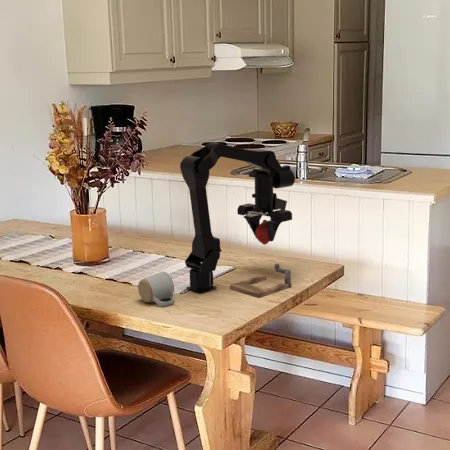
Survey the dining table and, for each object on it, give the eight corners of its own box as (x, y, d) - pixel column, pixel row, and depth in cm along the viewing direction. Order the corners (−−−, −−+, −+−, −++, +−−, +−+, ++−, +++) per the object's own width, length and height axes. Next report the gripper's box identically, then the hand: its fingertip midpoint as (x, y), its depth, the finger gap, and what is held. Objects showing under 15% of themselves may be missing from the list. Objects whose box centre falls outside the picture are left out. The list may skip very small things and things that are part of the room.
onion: (272, 247, 218) (272, 222, 216) (254, 246, 219) (253, 221, 217) (275, 242, 223) (274, 217, 222) (257, 242, 225) (256, 217, 223)
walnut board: (259, 297, 201) (259, 277, 199) (229, 288, 209) (229, 269, 208) (292, 286, 210) (292, 267, 208) (262, 278, 218) (262, 259, 217)
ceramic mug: (136, 300, 201) (135, 274, 199) (160, 293, 206) (159, 268, 204) (158, 310, 193) (157, 283, 192) (182, 303, 198) (181, 277, 197)
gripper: (304, 190, 216) (304, 239, 219) (260, 183, 229) (261, 230, 233) (279, 195, 209) (279, 246, 212) (235, 188, 222) (236, 236, 225)
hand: (264, 239), depth 221 cm, fingers closed on onion, 6 cm apart
